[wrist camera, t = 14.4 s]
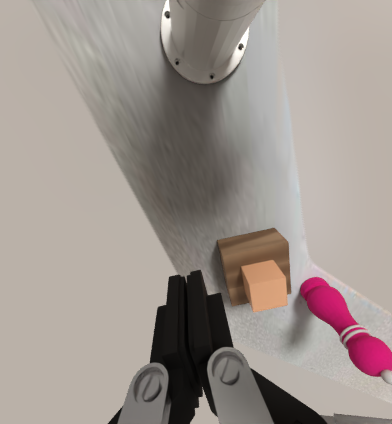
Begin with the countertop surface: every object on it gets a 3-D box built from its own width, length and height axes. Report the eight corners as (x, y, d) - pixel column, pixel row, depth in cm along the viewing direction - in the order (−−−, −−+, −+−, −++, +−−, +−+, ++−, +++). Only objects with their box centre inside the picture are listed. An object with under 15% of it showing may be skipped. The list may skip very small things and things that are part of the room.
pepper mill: (310, 304, 50) (386, 404, 32) (291, 290, 48) (360, 388, 30) (333, 285, 49) (428, 378, 30) (315, 269, 47) (403, 360, 28)
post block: (217, 240, 42) (222, 256, 37) (274, 227, 42) (288, 242, 37) (226, 285, 47) (232, 306, 41) (278, 274, 46) (291, 293, 41)
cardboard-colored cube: (241, 266, 38) (249, 285, 33) (273, 259, 38) (285, 277, 33) (245, 291, 40) (253, 312, 35) (275, 285, 40) (287, 305, 35)
